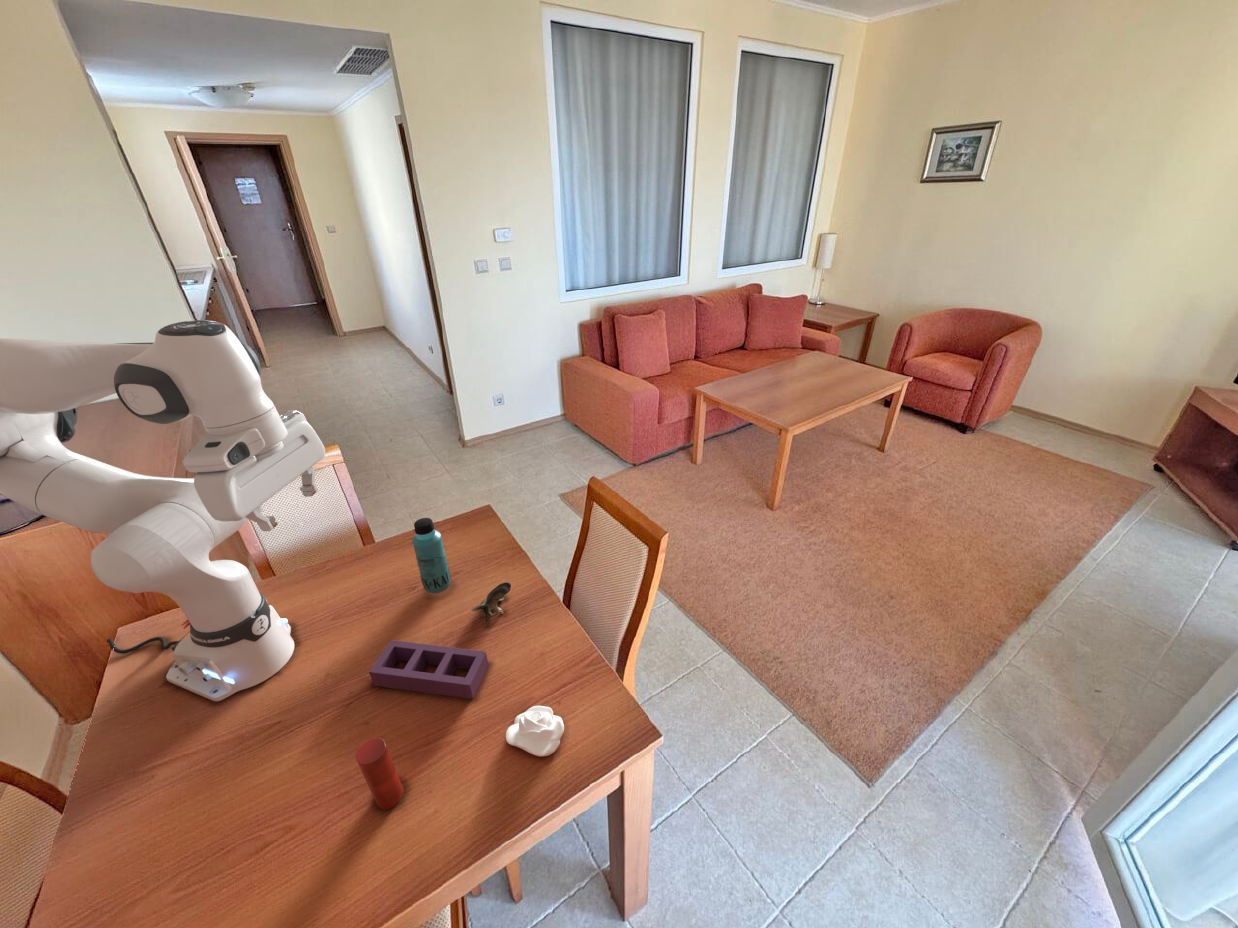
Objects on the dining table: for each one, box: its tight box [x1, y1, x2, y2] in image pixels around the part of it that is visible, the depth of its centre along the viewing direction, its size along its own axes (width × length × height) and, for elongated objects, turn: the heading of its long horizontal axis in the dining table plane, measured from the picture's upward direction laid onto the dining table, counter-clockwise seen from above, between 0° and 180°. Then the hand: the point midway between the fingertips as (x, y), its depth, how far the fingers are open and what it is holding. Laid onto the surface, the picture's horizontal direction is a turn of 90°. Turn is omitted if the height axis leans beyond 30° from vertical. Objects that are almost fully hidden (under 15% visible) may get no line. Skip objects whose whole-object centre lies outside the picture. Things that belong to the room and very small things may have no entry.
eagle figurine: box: [470, 581, 512, 626], centre depth 112 cm, size 8×7×9 cm
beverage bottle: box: [411, 517, 452, 594], centre depth 115 cm, size 6×7×20 cm
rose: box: [505, 705, 565, 757], centre depth 86 cm, size 10×4×10 cm
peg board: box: [368, 639, 489, 700], centre depth 97 cm, size 20×8×4 cm, turn 81°
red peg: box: [355, 737, 404, 810], centre depth 76 cm, size 4×4×12 cm
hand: (292, 510), depth 79 cm, fingers open, 8 cm apart
